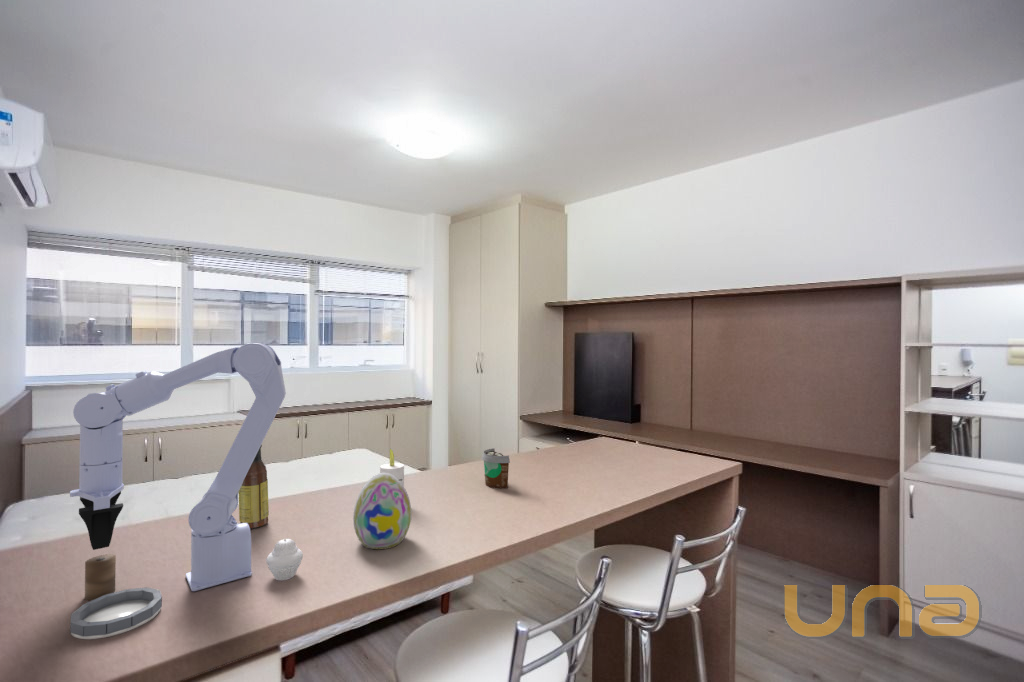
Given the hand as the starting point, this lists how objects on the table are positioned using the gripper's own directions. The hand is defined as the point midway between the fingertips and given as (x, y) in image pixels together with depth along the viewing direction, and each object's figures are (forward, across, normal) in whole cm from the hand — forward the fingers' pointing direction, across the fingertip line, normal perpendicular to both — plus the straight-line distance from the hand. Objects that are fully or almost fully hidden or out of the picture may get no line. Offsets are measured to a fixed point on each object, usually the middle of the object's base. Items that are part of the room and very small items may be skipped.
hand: (100, 540), depth 84 cm
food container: (+9, -7, +92) cm, 93 cm away
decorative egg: (+9, +11, +47) cm, 49 cm away
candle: (+9, -10, +60) cm, 62 cm away
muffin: (+9, +14, +26) cm, 31 cm away
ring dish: (+9, +12, +2) cm, 15 cm away
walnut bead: (+9, 0, 0) cm, 9 cm away
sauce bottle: (+9, -18, +28) cm, 35 cm away
